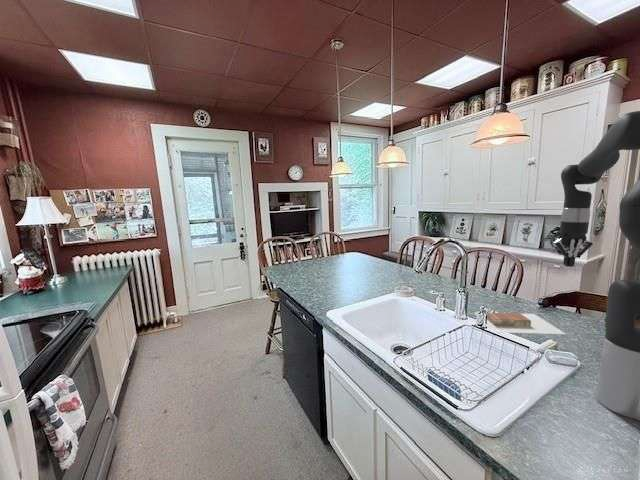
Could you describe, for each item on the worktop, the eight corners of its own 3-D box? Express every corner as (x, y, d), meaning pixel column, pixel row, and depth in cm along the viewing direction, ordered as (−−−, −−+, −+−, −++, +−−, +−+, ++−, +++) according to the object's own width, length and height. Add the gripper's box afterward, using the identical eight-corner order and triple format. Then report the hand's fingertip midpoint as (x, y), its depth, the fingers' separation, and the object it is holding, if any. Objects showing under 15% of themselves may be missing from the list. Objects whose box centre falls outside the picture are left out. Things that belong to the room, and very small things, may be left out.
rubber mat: (533, 315, 119) (533, 313, 119) (566, 335, 102) (566, 334, 102) (473, 313, 122) (473, 312, 122) (495, 333, 104) (495, 332, 104)
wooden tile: (520, 313, 114) (485, 312, 116) (531, 320, 108) (494, 319, 109) (519, 318, 115) (485, 318, 116) (530, 326, 108) (494, 325, 109)
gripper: (563, 221, 94) (557, 268, 97) (604, 221, 93) (597, 269, 95) (547, 219, 101) (542, 263, 104) (585, 219, 100) (578, 263, 103)
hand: (568, 266), depth 100 cm, fingers closed
